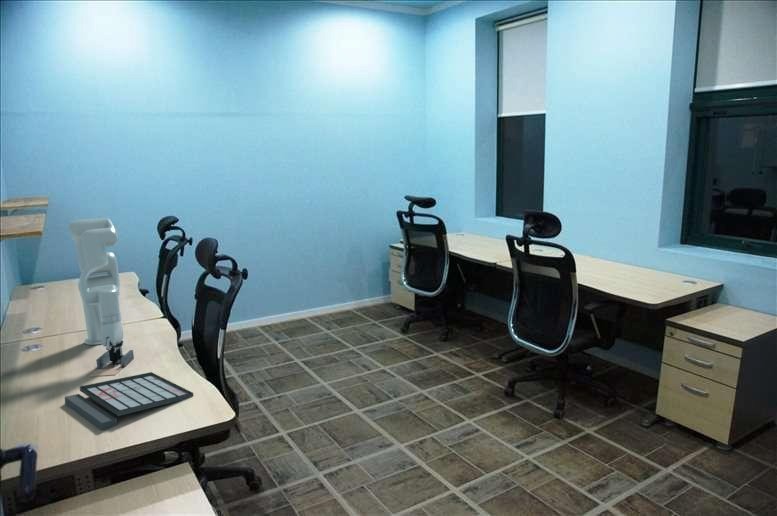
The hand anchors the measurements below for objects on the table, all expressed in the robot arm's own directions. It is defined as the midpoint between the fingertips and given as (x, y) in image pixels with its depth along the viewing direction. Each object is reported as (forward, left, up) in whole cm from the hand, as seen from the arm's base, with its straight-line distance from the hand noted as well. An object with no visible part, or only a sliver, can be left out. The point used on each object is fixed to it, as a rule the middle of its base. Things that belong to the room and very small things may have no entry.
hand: (116, 358), depth 228 cm
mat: (+11, 0, -2) cm, 11 cm away
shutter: (+38, +20, -3) cm, 43 cm away
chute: (+1, 0, -2) cm, 2 cm away
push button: (0, 0, -2) cm, 2 cm away
